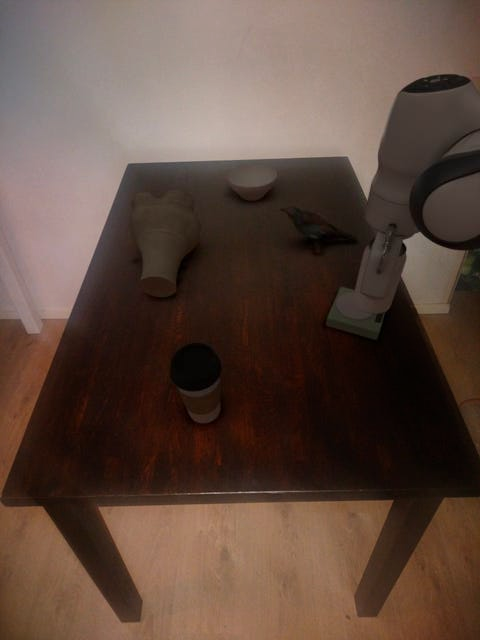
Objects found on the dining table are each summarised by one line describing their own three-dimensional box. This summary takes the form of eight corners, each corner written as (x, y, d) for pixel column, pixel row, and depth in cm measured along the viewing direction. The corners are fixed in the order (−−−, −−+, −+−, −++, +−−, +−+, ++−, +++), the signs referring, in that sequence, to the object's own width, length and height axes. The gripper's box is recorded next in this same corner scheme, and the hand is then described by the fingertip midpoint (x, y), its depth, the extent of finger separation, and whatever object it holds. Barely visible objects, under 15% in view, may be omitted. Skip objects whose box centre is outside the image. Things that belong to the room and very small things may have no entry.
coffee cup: (179, 430, 68) (163, 382, 57) (184, 390, 74) (170, 339, 63) (226, 429, 68) (219, 381, 57) (227, 389, 74) (221, 338, 63)
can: (345, 295, 69) (357, 239, 60) (377, 286, 70) (393, 230, 62) (364, 319, 65) (380, 263, 56) (398, 309, 66) (418, 253, 57)
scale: (386, 306, 87) (389, 296, 85) (376, 340, 80) (379, 330, 78) (339, 294, 91) (340, 284, 89) (325, 325, 84) (327, 315, 82)
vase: (197, 276, 77) (207, 180, 91) (88, 266, 76) (114, 170, 89) (196, 326, 96) (204, 241, 110) (108, 319, 94) (128, 233, 108)
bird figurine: (351, 227, 108) (322, 172, 95) (362, 248, 102) (332, 192, 89) (309, 250, 113) (276, 202, 100) (317, 272, 106) (282, 223, 93)
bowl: (222, 188, 129) (221, 167, 124) (267, 180, 132) (268, 160, 127) (235, 211, 119) (233, 190, 114) (283, 202, 121) (284, 181, 116)
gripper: (411, 254, 47) (385, 330, 57) (430, 179, 59) (405, 252, 69) (359, 243, 49) (343, 318, 59) (388, 173, 61) (370, 244, 71)
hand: (377, 282), depth 64 cm, fingers closed on can, 6 cm apart
